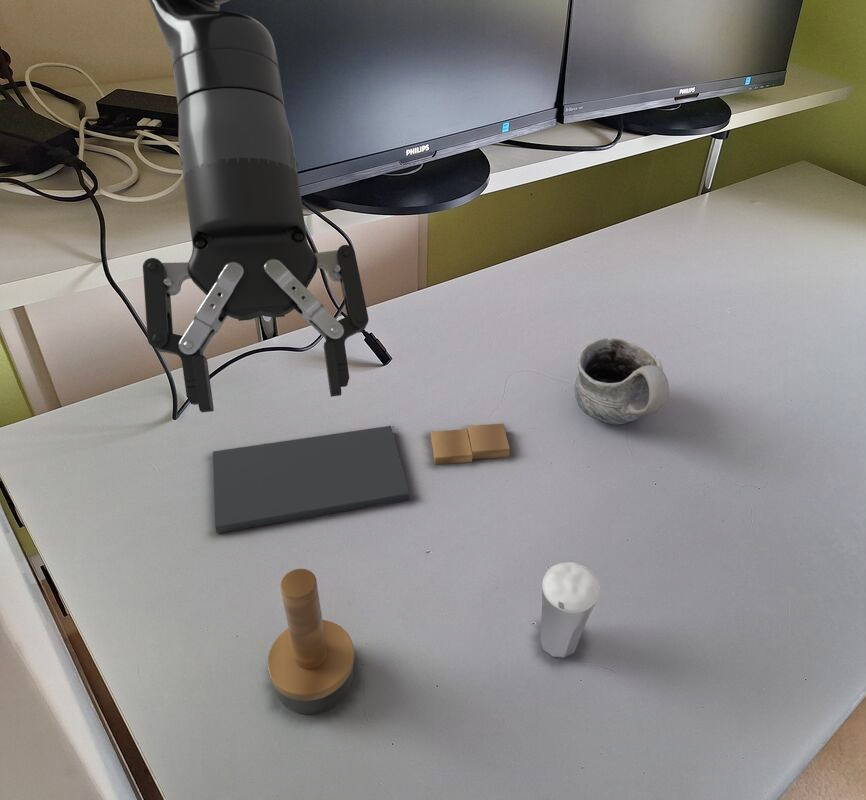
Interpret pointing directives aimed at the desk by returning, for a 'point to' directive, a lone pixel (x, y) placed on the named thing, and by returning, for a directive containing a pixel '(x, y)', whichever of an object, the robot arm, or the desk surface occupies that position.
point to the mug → (619, 381)
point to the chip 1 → (451, 446)
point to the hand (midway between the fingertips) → (273, 403)
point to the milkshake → (566, 606)
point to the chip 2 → (488, 441)
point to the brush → (309, 651)
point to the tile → (306, 478)
